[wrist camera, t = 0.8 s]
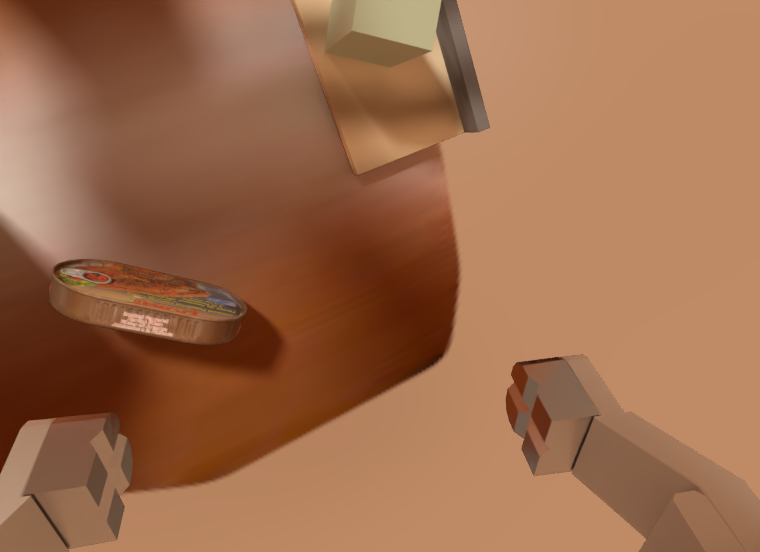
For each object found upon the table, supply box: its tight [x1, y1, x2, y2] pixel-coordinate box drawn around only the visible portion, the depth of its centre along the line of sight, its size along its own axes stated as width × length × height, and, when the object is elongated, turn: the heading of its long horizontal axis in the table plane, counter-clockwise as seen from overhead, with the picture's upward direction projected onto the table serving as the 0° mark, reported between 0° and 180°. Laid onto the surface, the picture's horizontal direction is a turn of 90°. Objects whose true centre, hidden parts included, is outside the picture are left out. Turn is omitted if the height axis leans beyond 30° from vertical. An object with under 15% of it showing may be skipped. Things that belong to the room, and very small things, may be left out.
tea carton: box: [325, 0, 441, 68], centre depth 41 cm, size 4×6×10 cm
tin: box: [49, 259, 247, 345], centre depth 44 cm, size 15×3×8 cm, turn 71°
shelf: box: [291, 0, 490, 175], centre depth 45 cm, size 24×13×4 cm, turn 20°
